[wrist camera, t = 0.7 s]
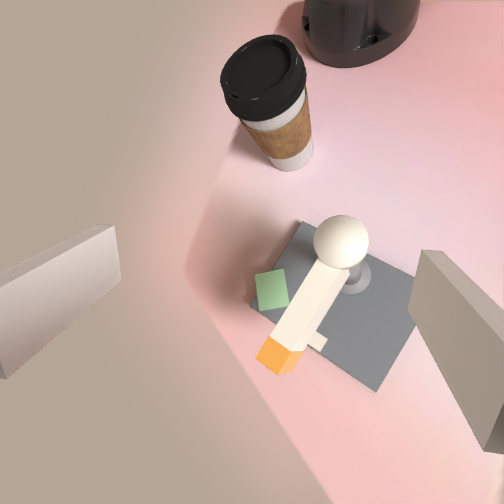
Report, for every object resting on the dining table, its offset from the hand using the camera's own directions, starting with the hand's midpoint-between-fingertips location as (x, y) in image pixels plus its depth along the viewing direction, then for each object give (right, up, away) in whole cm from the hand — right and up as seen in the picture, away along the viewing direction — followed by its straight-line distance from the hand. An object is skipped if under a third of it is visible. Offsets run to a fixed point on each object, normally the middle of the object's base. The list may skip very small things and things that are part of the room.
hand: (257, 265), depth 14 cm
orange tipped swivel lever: (+8, -6, +21) cm, 24 cm away
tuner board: (+9, -5, +23) cm, 25 cm away
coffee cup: (+5, +14, +30) cm, 34 cm away
